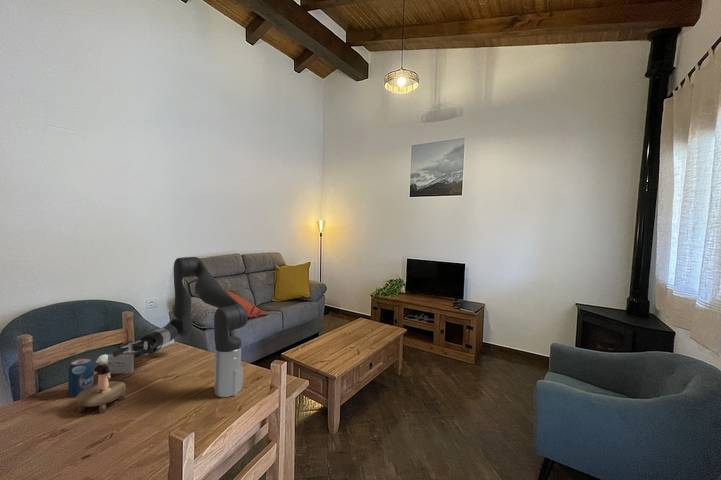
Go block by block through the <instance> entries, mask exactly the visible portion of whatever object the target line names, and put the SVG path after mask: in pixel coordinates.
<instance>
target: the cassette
mask: <svg viewBox="0 0 721 480" xmlns="http://www.w3.org/2000/svg"><path fill="white" fill-rule="evenodd" d="M107 355H108V362H107V364H106V365H107V366H108V367H109V370H110V374H133V373H134V368H135V367H134V363H135V361H134V359H135V354H121V355H119V356H116V357H113V354H107Z"/></svg>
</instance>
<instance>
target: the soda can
mask: <svg viewBox="0 0 721 480" xmlns="http://www.w3.org/2000/svg"><path fill="white" fill-rule="evenodd" d="M94 367H95V365H94V361H93V360H92V358H91V357H82V358H77V359H75V360H72V361H71V362H70V365H69V366H68V370H67V371H68V372H67V376H68V378H67V379H68V380H67V383H68V386H67V392H68V393H67V394H68V395H70V397H72V398H77V395H78V394H79V393H80V392H81V391H83V390H85V389H87V388H89V387H91V386H94V375H95V374H93V373H94V369H95V368H94Z"/></svg>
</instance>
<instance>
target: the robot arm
mask: <svg viewBox="0 0 721 480" xmlns="http://www.w3.org/2000/svg"><path fill="white" fill-rule="evenodd" d="M191 277H196V278H197V280H196V282H195V284H194V291H195V293H196V295H197V296H198V298H200V300H201V301H202V302H203V303H205V304H206V305H209V306H212V307H214V308H217V309H216V310H215V312H214V316H213V329H214V330H213V331H214V333H213V334H214V344H215V345H214V346H215V348H214V350H215V351H214V354H215V355H214V357H215V358H214V395H215V396H216V397H219V398H228V397H231V396H232V397H235V396H237V395H238V393H240V391H241V390H242V388H243V378H244V377H243V376H244V375H243V374H244V373H243V372H244V364H242V339H241V338H240V337H239V336H234V335H230V333H229V332H230V331H234V330H239V329H241V328H243V327H245V326H246V325H247V323H248V320H249V319H248V318H249V317H248V314H247V311H246V309H245V308H244V306H243V305H242V304H241V303H240V302H239V301H237V300H236V299H235V298H234V297H232V296H231V295H230V294H229V292H227V290H225V289H224V287H223V286H222V285H221V283H220V282H218V280H217V279H215V277H214V276H213V275H212V274H211V273H210V271H209V270H208V268H207V267H206V266H205V264H204V262H203V261H202V259H200V257H197V256H185V257H183V256H182V257H178V258H176V259H175V260H174V263H173V287H174V288H173V289H174V304H173V305H174V306H173V317H174V319H171V320H170V321H169V322H168V323H167V324H166V325H165V326H163V327H160V328H158V329H155V330H153V331H150V332H149V333H146V334H144V335H143V336H141V337H140V339H139V340H136V341H135V342H132V341H133V340H128V341H126V342H124V343H122V344H119V345H117V349H115V350H113V353H112V355H113V357H116V356H119V355H124V354H125V353H128V354H131V353H134V359H138V358H140V357H142V356H145V355H148V354H149V355H150V356H151V355H153V354H155V353H156V352H159V351H160V350H162V349H161V348H162V347H163V346H165V345H166V344H167V343H169V342H171V341H173V340H175V339H176V338H177V337H178V336H180V337H181V336H182V337H186V336H189V335H190V334H191V333H192V331H193V326H194V324H193V319H192V313H191V310H192V297H191V295H190V293H189V292H188V291H187V289H186V287H185V286H184V278H191Z"/></svg>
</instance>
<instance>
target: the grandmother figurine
mask: <svg viewBox="0 0 721 480" xmlns="http://www.w3.org/2000/svg"><path fill="white" fill-rule="evenodd" d="M108 355H109V354H102V355H100V356H98V358H97V359H96V361H95V363H96V364H98V365H97V366H95V368H94V373H93V374H94V375H96V374H97V375H98V377H97V379H98V380H97V384H98V390H97V391H96V392H101V393H106V392H109V391H111V388H108V387H109V382H110V381H109V380H110V379H111V377H112V376H111V373H110V370H109V367H108V366H107V365H106V364H107V362H108Z"/></svg>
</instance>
